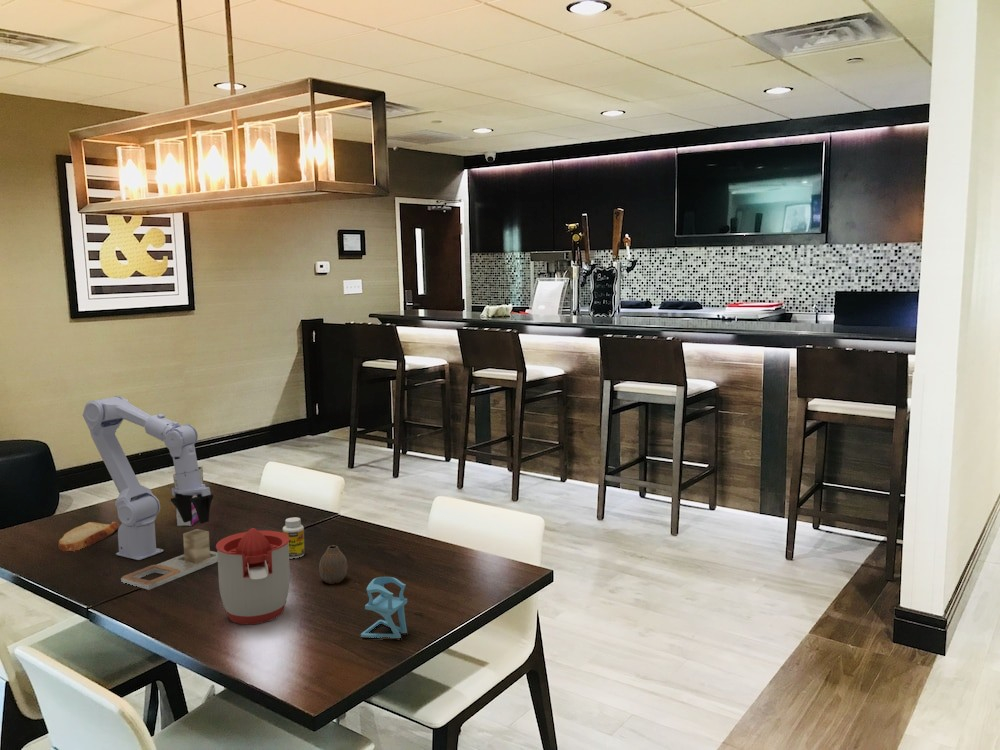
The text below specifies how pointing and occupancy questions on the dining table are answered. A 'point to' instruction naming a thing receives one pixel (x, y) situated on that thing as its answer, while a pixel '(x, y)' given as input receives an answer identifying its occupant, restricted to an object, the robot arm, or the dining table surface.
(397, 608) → the chair
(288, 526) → the supplement bottle
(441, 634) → the dining table surface
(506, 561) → the dining table surface
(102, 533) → the bread slice
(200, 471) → the candy bar box
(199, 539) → the birch peg
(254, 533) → the citrus juicer
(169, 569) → the rail
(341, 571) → the vase
